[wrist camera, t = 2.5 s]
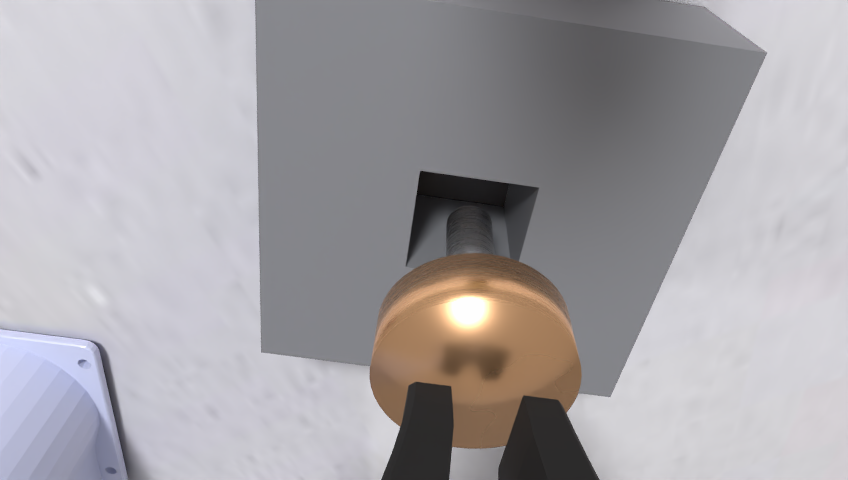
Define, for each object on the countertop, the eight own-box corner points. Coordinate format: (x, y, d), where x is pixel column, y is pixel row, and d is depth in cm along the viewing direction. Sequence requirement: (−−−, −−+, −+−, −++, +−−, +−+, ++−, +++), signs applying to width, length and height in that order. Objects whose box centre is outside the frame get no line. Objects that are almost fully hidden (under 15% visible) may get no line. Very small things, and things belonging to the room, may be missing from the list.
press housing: (587, 313, 23) (610, 397, 19) (290, 273, 22) (261, 352, 19) (704, 7, 16) (767, 53, 13) (295, -58, 16) (254, -27, 13)
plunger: (526, 293, 17) (550, 459, 13) (386, 274, 17) (361, 435, 13) (563, 168, 15) (609, 316, 11) (403, 145, 15) (380, 285, 10)
